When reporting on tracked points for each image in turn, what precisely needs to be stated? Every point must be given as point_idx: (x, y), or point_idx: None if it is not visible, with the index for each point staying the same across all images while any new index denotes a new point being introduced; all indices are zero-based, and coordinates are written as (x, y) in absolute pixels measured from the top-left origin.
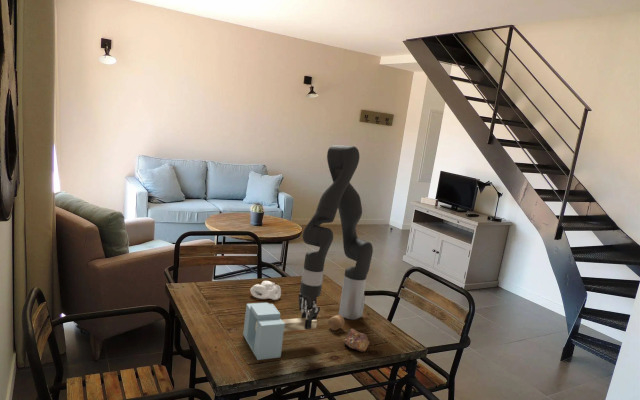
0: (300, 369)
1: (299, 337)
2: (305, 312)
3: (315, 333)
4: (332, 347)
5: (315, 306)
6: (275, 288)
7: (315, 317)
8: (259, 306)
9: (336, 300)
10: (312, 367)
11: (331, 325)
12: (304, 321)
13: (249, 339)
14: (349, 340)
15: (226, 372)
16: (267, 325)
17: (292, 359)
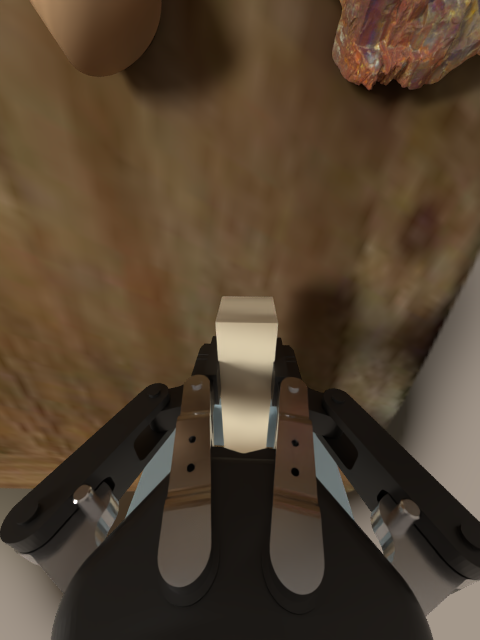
0: (402, 379)
1: (212, 308)
2: (211, 404)
3: (182, 219)
4: (338, 193)
5: (448, 591)
6: None
7: (363, 419)
8: None
9: None
10: (417, 346)
11: (113, 54)
12: (267, 394)
13: (218, 442)
14: (439, 49)
15: None
16: None
17: (342, 379)
